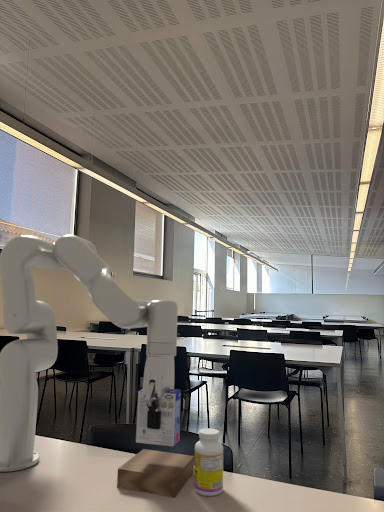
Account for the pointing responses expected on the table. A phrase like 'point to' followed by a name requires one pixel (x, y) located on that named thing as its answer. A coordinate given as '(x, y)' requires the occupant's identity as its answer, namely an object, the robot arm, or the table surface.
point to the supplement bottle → (208, 463)
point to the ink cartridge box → (168, 422)
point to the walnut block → (156, 472)
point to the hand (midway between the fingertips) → (158, 424)
